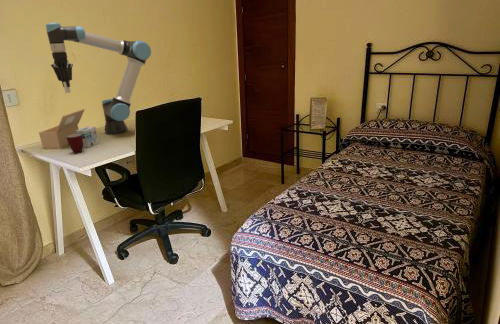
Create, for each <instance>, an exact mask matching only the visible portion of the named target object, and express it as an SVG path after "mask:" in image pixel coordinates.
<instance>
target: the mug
mask: <svg viewBox="0 0 500 324" xmlns="http://www.w3.org/2000/svg"><path fill="white" fill-rule="evenodd" d="M67 141H68V144H69V148H70V149H71V151H72V152H73V153H74V154H79V153H81V152H82V151H83V138H82V134H71V135H68V136H67Z"/></svg>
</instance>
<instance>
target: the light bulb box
mask: <svg viewBox="0 0 500 324" xmlns="http://www.w3.org/2000/svg"><path fill="white" fill-rule="evenodd" d="M78 129H79V128H78ZM76 134H82V138H83V148H86V149H87V148H88V149H89V148H91V147H93V146H95V145H97V144H99V138H98V133H97V128H96V126H84V127H81V128H80V129H79V130H76Z"/></svg>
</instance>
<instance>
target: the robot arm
mask: <svg viewBox="0 0 500 324" xmlns="http://www.w3.org/2000/svg"><path fill="white" fill-rule="evenodd" d="M45 28H46V34H47V35H46V36H47V39H48V42H49V47H50V51H51V55H52V59H53V64H50V66H51V68H52V69H53V71H54V73H55V76H56V78H57V80H58V81H59V82H61V83H62V84H61V85H62V87H63V88H64V89H63V90H64V93H65V94H70V93H71V88H70V87H71V83H70V81H72V80H73V66H74V64H73V63H71V62H69V60H68V54H67V52H66V51H67V49H66V45H65V41H68V42H70V41H71V42H74V43H79V44H82V45H86V46H91V47H96V48H99V49H103V50H107V51H111V52H115V53H118V54H119V55H121V56H124V57H126V59H127V64H126V67H125V70H124V74H123V76H122V78H121V81H120V85H119V87H118V90H117V93H116V95H115V96H113V97H112V98H110V99H103V100H102V101H101V103H102V104H101V106H102V109H103V115H104V120H105V125H104V134H105V135H118V134H123V133H126V132H128V127H127V124H126V122H125V121H126V120H127V119H129V117H130V114H131V109H130V108H131V105H132V103H131V101H130V100H131V97H132V96H133V95H132V94H133V91H134V88H135V86H136V84H137V81H138V77H139V75H140V71H141V68H142V67H143V66H145V64H146V62H147V60H148V59H149V58H150V57H151V55H152V50H151V47H150V45H149V44H148V43H147V42H145V41H143V40H133V41H132V40H131V41H130V40H123V39H120V40H117V39H114V38H110V37H107V36H103V35H100V34H99V35H98V34H96V33H91V32H87V31H85V29H84V27H83V26H78V25H73V26H62V25H61V24H60V23H59V22H48V23H46V24H45Z"/></svg>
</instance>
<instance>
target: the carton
mask: <svg viewBox="0 0 500 324" xmlns="http://www.w3.org/2000/svg"><path fill="white" fill-rule="evenodd" d="M58 126H59V125H56V126H53V127H51V128H48V129H45V130H42V131H40V132H38V134H39V139H40V142H41V145H42V148H43V149H62V148H64V147H67V146H68V145H69V144H68V141H67V136H68V135H71V134H76V130H79V124H78V125H75V126H73V127H70V128H67V129H65V130H62V131H60V132H56V131H57V129H58Z"/></svg>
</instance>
